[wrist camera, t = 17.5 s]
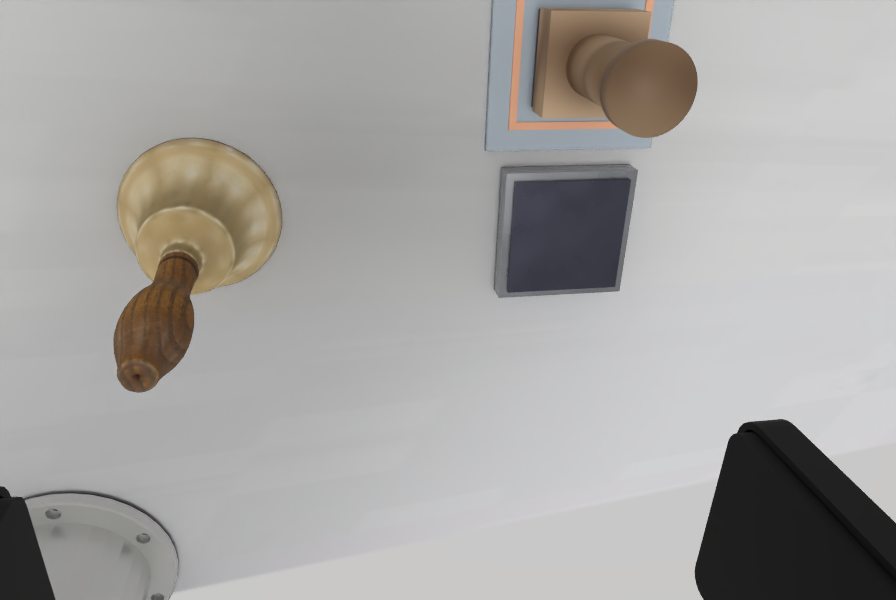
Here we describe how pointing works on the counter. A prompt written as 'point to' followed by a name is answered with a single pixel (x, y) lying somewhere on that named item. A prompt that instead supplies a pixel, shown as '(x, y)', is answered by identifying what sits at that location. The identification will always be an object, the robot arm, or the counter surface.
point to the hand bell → (187, 244)
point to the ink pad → (563, 229)
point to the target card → (514, 73)
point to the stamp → (610, 70)
